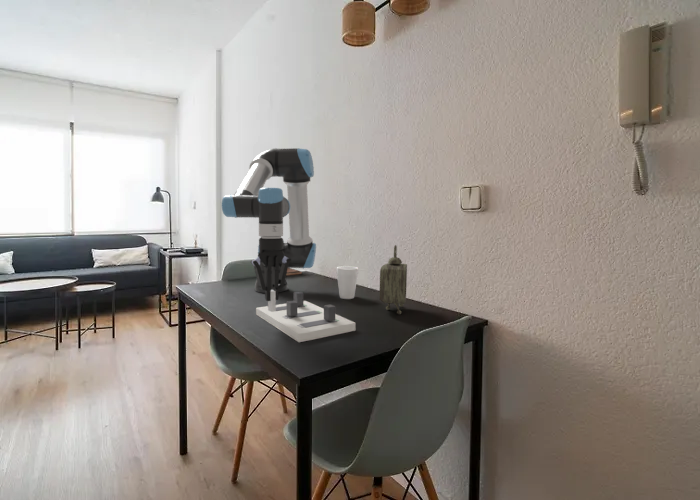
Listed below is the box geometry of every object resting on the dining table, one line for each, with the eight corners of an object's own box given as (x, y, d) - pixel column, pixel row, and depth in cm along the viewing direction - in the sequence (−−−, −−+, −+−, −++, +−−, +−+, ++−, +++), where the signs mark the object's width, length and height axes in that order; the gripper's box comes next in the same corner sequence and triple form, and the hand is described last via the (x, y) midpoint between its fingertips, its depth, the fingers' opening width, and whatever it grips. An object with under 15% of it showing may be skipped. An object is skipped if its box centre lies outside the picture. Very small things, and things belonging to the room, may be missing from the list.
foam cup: (350, 300, 160) (350, 270, 158) (332, 297, 165) (332, 268, 163) (361, 296, 168) (362, 267, 166) (343, 293, 173) (344, 265, 171)
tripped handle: (286, 314, 128) (286, 301, 127) (293, 313, 129) (293, 300, 128) (290, 316, 125) (290, 303, 125) (297, 315, 126) (297, 302, 126)
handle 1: (293, 304, 141) (293, 292, 141) (299, 303, 142) (299, 291, 142) (297, 306, 139) (297, 294, 138) (303, 305, 140) (303, 293, 139)
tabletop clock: (403, 316, 138) (405, 247, 135) (378, 314, 140) (380, 246, 137) (405, 306, 152) (407, 243, 149) (383, 304, 154) (384, 243, 151)
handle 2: (323, 319, 123) (323, 305, 122) (330, 317, 124) (330, 304, 124) (328, 321, 121) (328, 307, 120) (335, 320, 122) (335, 306, 121)
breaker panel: (256, 314, 138) (256, 307, 138) (305, 306, 149) (305, 300, 149) (298, 342, 110) (298, 333, 110) (355, 330, 121) (355, 322, 121)
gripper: (255, 238, 113) (256, 316, 116) (295, 237, 121) (295, 310, 123) (246, 237, 120) (248, 310, 122) (285, 236, 127) (285, 305, 129)
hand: (271, 310), depth 123 cm, fingers closed
